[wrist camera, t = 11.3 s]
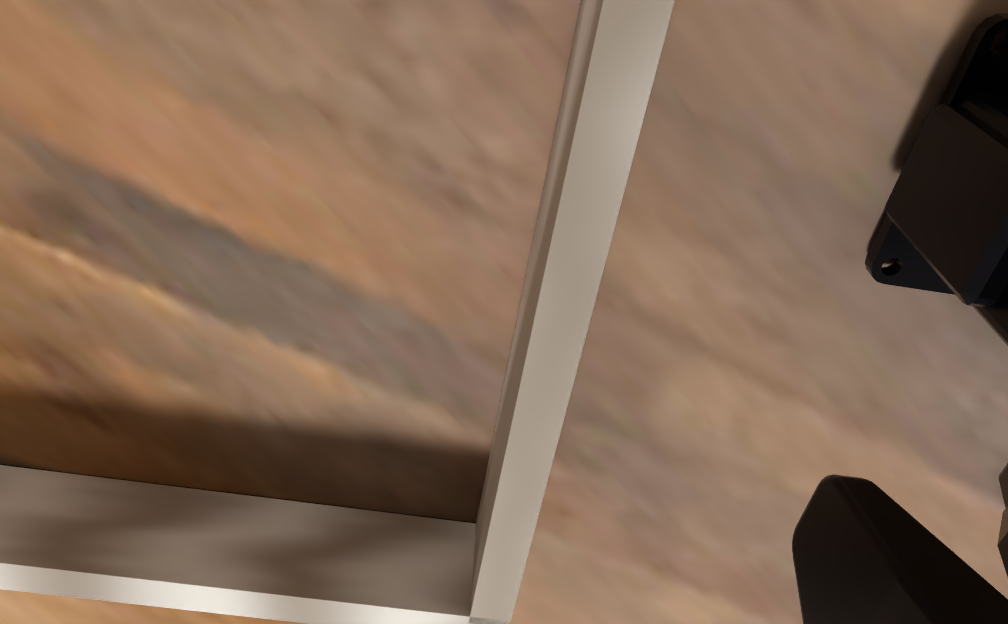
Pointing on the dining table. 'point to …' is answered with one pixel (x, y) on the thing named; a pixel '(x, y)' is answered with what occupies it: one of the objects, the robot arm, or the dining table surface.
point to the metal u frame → (363, 533)
